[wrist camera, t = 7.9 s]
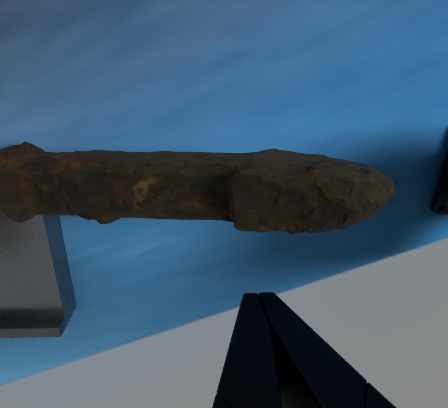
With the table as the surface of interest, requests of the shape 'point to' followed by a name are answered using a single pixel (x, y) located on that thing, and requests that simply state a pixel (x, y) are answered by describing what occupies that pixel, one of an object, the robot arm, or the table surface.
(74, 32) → the table surface
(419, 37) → the table surface
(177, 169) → the hand tool
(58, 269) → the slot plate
